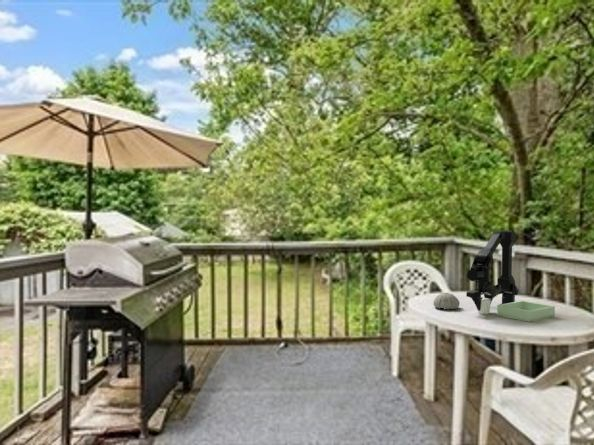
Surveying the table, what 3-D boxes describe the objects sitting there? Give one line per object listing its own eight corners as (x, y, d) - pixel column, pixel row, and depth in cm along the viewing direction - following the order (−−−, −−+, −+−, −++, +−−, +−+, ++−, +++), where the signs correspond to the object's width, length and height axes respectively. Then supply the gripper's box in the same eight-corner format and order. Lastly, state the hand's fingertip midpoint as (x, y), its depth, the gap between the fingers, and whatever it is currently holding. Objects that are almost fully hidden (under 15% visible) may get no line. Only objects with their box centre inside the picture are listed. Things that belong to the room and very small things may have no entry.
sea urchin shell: (431, 305, 307) (430, 291, 307) (456, 305, 307) (456, 290, 306) (436, 311, 294) (436, 295, 294) (462, 310, 294) (462, 295, 293)
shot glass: (474, 311, 290) (474, 297, 290) (487, 311, 291) (487, 297, 291) (479, 314, 284) (479, 300, 283) (493, 313, 284) (493, 299, 284)
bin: (521, 310, 291) (521, 300, 290) (554, 316, 275) (554, 306, 275) (497, 315, 281) (497, 305, 281) (530, 322, 266) (530, 311, 265)
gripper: (483, 282, 275) (483, 315, 276) (509, 278, 284) (509, 310, 285) (465, 279, 284) (465, 311, 285) (491, 276, 294) (491, 306, 295)
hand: (483, 309), depth 287 cm, fingers closed on shot glass, 6 cm apart
